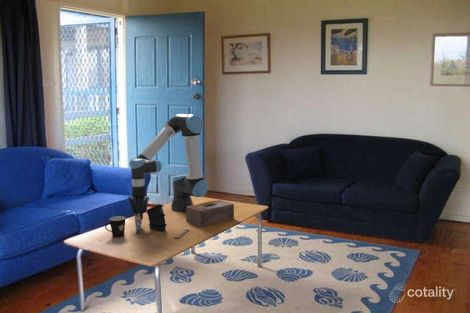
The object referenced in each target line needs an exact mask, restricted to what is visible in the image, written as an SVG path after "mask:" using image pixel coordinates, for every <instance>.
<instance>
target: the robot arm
mask: <svg viewBox="0 0 470 313" xmlns="http://www.w3.org/2000/svg"><path fill="white" fill-rule="evenodd" d="M162 127H163V128H162V129H161V130H160V131H159V132H158V134H157V135H155V136H154V138H153V139H152V141H150V142H149V143H148V144H147V146H146V147H145V148H144V149H143V150H142V151H141V152H140V153H139V155H138V156H137V157H132V158H131V159H130V160H129V163H128V164H129V168H130V170H131V171H130V172H131V174H130V175H131V185H132V186H131V193H132V194H131V195H130V196H128V198H127V199H128V200H129V203H130V206H131V210H132V213H133V214H135V216H136V215H140V216H141V225H142V224H143V219H144V214H146V212H147V211H146V210H148V204H149V201H150V199H151V198H150V197H149V196H147V194H146V186H145V184H146V182H145V181H146V180H145V178H146V177H145V176H146V175H149V174H154V173H155V174H156V173H159V172H161V170H162V167H163V164H162V162H161V160H159V159H153V158H154V157H155V156H156V155H157V154H158V153H159V151H160V150H161V149H162V148H164V146H165V145H166V144H167V143H168V142H169V141H170V139H171V138H172V137H174V136H176V135H177V134H178V133H180V132H181V137H183V139H184V145H185V146H184V147H185V156H186V157H185V158H186V165H187V166H186V167H187V173H186V174H178V175H175V176H173V177H172V190H173V192H172V193H173V198H172V201H171V205H170V207H171V208H170V209H171V210H172V211H176V212H186V207H187V206H191V205H194V202H193V200H192V197H193V198H202V197H204V196H205V195H206V194H207V192H208V189H209V184H208V181H207V180H205V178H204V174H202V169H201V168H202V167H201V158H200V154H201V153H200V145H199V136H201V132H202V130H203V128H204V122H203V119H202V117H200V116H199V115H197V114H193V113H177V114H175V115H174V116H172V117H170V119H168V120H167V121H166V122H165V123H164V125H163V126H162Z"/></svg>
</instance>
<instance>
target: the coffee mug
mask: <svg viewBox="0 0 470 313" xmlns="http://www.w3.org/2000/svg"><path fill="white" fill-rule="evenodd" d="M107 225H110V229H111V230H109V229H108V228H107ZM104 228H105V230H106V231H108V232H110V233H111V234H112V238H123V237H124V236H125V233H126V232H125V231H126V230H125V228H126V217H125V216H121V215H120V216H119V215H118V216H117V215H116V216H112V217H109V222H106V224H105V225H104Z"/></svg>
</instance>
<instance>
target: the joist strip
mask: <svg viewBox="0 0 470 313" xmlns="http://www.w3.org/2000/svg"><path fill="white" fill-rule="evenodd" d="M189 231H190V228H189V229H188V228H185V229H184V230H182V231H181V232H180V233H178V234H177V235H176V236H175V237H174V239H177V240H178V239H179V240H180V238H181V237H183V236H184V235H185V234H186V233H188V232H189Z"/></svg>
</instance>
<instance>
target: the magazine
mask: <svg viewBox="0 0 470 313" xmlns="http://www.w3.org/2000/svg"><path fill="white" fill-rule="evenodd" d="M163 207H164V206H163V205H162V204H161V203H160V204H157V205H153V206H151V207H150V208H147V209H146V212H145V214H147V216H148V218H147V220H148V221H149V223H148V226H149V228H150V229H152V230H156V231H160V232H165V231H166V228H167V223H166V218H165V216H166V213H164V209H163Z"/></svg>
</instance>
